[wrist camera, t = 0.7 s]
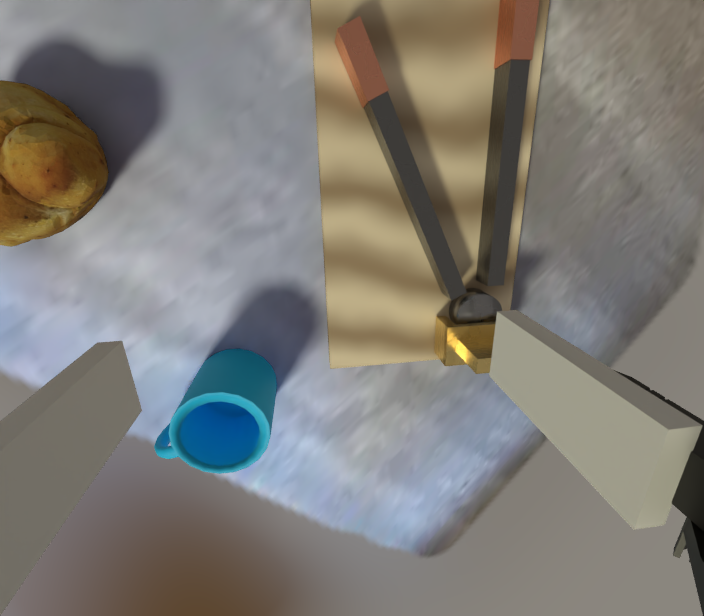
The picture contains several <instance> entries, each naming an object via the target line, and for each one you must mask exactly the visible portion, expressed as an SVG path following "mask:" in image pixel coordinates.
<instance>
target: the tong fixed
mask: <svg viewBox="0 0 704 616" xmlns="http://www.w3.org/2000/svg"><path fill="white" fill-rule="evenodd" d="M538 7H539V0H500V4H499V16H498V27H497V38H496V49H495V60H494V69H495V73H494V84H493V95H492V106H491V117H490V128H489V139H488V150H487V162H486V173H485V184H484V195H483V206H482V217H481V228H480V239H479V250H478V261H477V272H476V280H477V281H479V282H481V283H482V284H484V285H486V286H500V285H504V279H505V270H506V262H507V253H508V245H509V236H510V228H511V219H512V211H513V202H514V194H515V185H516V177H517V168H518V160H519V151H520V143H521V134H522V126H523V117H524V109H525V100H526V92H527V83H528V75H529V66H530V60H532V57H533V49H534V41H535V32H536V24H537V16H538ZM466 292H467V293H465V294H463V295H461V296H459V297H457V298H455V299H453V300H452V301H451V303H450V306H449V316H450V319H451V321H452V322H453V323H454V324H455V325H458V324H471V323H484V322H496V316H497V311H502V307H501V304H500V303H499V301H498V300H497V299H496V298H494V297H493V296H491V295H489V294H487V293H486V292H484V291H482V290H480V289H477V288H468V289H466Z"/></svg>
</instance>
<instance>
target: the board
mask: <svg viewBox="0 0 704 616" xmlns="http://www.w3.org/2000/svg"><path fill="white" fill-rule="evenodd" d="M549 1H550V0H539V7H538V16H537V24H536V32H535V41H534V49H533V57H532V60H530V66H529V75H528V83H527V92H526V100H525V109H524V117H523V126H522V134H521V143H520V151H519V160H518V168H517V177H516V185H515V194H514V202H513V211H512V219H511V228H510V236H509V245H508V253H507V262H506V270H505V279H504V285H500V286H486V285H484V284H482V283H481V282H479V281H477V280H476V272H477V261H478V250H479V239H480V228H481V217H482V206H483V195H484V184H485V173H486V162H487V150H488V139H489V128H490V117H491V106H492V95H493V84H494V73H495V69H494V60H495V49H496V38H497V27H498V16H499V4H500V0H310V6H311V25H312V44H313V62H314V81H315V100H316V119H317V137H318V156H319V175H320V193H321V212H322V231H323V249H324V268H325V287H326V306H327V324H328V343H329V362H330V368H331V369H334V368H345V367H356V366H368V365H379V364H391V363H402V362H414V361H425V360H436V359H439V358H438V356H437V355H436V354H435V353H434V344H435V326H436V316H446V317H448V318H449V319H450V316H449V306H450V303H451V300H450V299H449V298H447V297H446V296H445V295H444V294H442V292H441V290H440V288H439V285H438V283H437V280H436V278H435V276H434V273H433V271H432V269H431V266H430V264H429V262H428V259H427V257H426V254H425V252H424V250H423V247H422V245H421V243H420V240H419V238H418V235H417V233H416V231H415V228H414V226H413V224H412V221H411V219H410V217H409V214H408V212H407V209H406V207H405V205H404V202H403V200H402V198H401V195H400V193H399V191H398V188H397V186H396V183H395V181H394V179H393V176H392V174H391V172H390V169H389V167H388V164H387V162H386V160H385V157H384V155H383V153H382V150H381V148H380V146H379V143H378V141H377V138H376V136H375V134H374V131H373V129H372V127H371V124H370V122H369V120H368V117H367V115H366V112H365V110H364V108H362V106H361V104H360V101H359V99H358V97H357V94H356V92H355V90H354V87H353V85H352V83H351V80H350V78H349V75H348V73H347V71H346V68H345V66H344V64H343V61H342V59H341V57H340V54H339V52H338V49H337V47H336V45H335V42H334V41H335V37H336V32H337V28H339V27H341V26H343V25H344V24H346V23H348V22H350V21H352V20H353V19H355V18H357V17H359V16H360V17H361V20H362V22H363V25H364V27H365V30H366V32H367V35H368V37H369V40H370V43H371V45H372V48H373V50H374V53H375V55H376V58H377V60H378V63H379V66H380V68H381V71H382V73H383V76H384V78H385V81H386V83H387V86H388V89H389V91H388V93H389V96H390V98H391V101H392V103H393V106H394V109H395V111H396V114H397V116H398V119H399V121H400V124H401V126H402V129H403V131H404V134H405V137H406V139H407V142H408V144H409V147H410V149H411V152H412V154H413V157H414V159H415V162H416V164H417V167H418V170H419V172H420V175H421V177H422V180H423V182H424V185H425V187H426V190H427V192H428V195H429V198H430V200H431V203H432V205H433V208H434V210H435V213H436V215H437V218H438V220H439V223H440V226H441V228H442V231H443V233H444V236H445V238H446V241H447V243H448V246H449V248H450V251H451V253H452V256H453V259H454V261H455V264H456V266H457V269H458V271H459V274H460V276H461V279H462V281H463V284H464V287H465V289H468V288H477V289H480V290H482V291H484V292H486V293H487V294H489V295H491V296H493V297H494V298H496V299H497V300H498V301H499V303H500V304H501V307H502V311H509V310H510V309H511V301H512V293H513V285H514V277H515V269H516V261H517V253H518V246H519V238H520V230H521V222H522V214H523V206H524V198H525V190H526V183H527V175H528V167H529V159H530V151H531V143H532V135H533V127H534V120H535V112H536V104H537V96H538V88H539V80H540V72H541V64H542V57H543V49H544V41H545V33H546V25H547V17H548V9H549ZM450 320H451V319H450Z"/></svg>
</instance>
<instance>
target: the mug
mask: <svg viewBox="0 0 704 616" xmlns="http://www.w3.org/2000/svg"><path fill="white" fill-rule="evenodd" d="M276 390H277V381H276V375H275V372H274V370H273V368H272V366H271V365H270V364H269V363H268V362H267V361H266V360H265V359H264V358H263V357H262V356H260V355H258V354H256V353H254V352H252V351H248V350H243V349H226V350H224V351H221V352H218V353H215V354H214V355H212V356H211V357H210V358H208V359H207V360H206V361H205V362H204V363H203V365H202V366H201V368H200V370H199V371H198V373H197V375H196V376H195V378H194V380H193V382H192V384H191V385H190V387H189V389H188V391H187V392H186V394H185V396H184V398H183V399H182V401H181V403H180V405H179V406H178V408H177V410H176V412H175V414H174V415H173V417H172V419H171V422H170V424H169V425H168V426H167V427H166V428H165V429H164V430H163V431H162V433H161V434H160V435H159V437H158V438H157V440H156V443H155V446H154V448H155V451H156V453H157V455H158V456H159V457H162V458H167V459H171V458H175V457H180V458H181V459H182V460H183V461H185V462H186V463H187V464H188V465H190V466H192V467H194V468H197V469H199V470H201V471H204V472H211V473H218V474H220V473H230V472H236V471H238V470H241V469H244V468H247V467H249V466H250V465H251V464H253V463H254V462H256V461H257V460H258V459H259V458H260V457H261V456H262V454H263V453H264V452H265V450H266V449H267V446H268V443H269V439H270V435H271V428H272V420H273V412H274V405H275V397H276ZM170 442H171V446H168V444H169V443H170Z"/></svg>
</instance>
